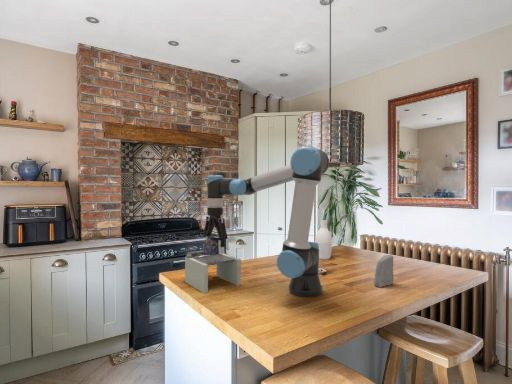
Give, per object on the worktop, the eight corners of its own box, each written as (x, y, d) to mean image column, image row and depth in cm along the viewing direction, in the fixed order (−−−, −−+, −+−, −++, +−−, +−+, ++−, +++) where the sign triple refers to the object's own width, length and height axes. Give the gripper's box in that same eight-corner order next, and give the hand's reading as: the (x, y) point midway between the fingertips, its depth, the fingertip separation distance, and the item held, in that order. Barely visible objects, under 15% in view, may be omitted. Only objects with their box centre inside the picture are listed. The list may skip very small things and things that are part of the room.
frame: (240, 284, 152) (240, 256, 152) (203, 293, 140) (204, 262, 140) (219, 275, 168) (219, 249, 168) (185, 282, 156) (185, 254, 156)
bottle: (333, 257, 214) (334, 220, 214) (328, 260, 205) (329, 221, 204) (318, 255, 220) (318, 219, 220) (312, 258, 211) (312, 220, 210)
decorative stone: (381, 288, 148) (382, 257, 148) (371, 285, 153) (371, 255, 153) (395, 285, 154) (395, 254, 154) (384, 281, 159) (384, 252, 159)
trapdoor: (234, 270, 152) (234, 256, 152) (206, 275, 143) (206, 260, 143) (213, 261, 169) (213, 249, 169) (186, 266, 160) (186, 252, 160)
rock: (222, 251, 145) (215, 231, 148) (204, 260, 147) (197, 240, 150) (231, 251, 155) (224, 233, 158) (214, 260, 157) (207, 241, 160)
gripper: (235, 208, 145) (234, 254, 145) (209, 205, 164) (209, 246, 164) (221, 208, 140) (220, 256, 140) (196, 205, 159) (196, 248, 159)
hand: (214, 251), depth 152 cm, fingers closed on rock, 12 cm apart
